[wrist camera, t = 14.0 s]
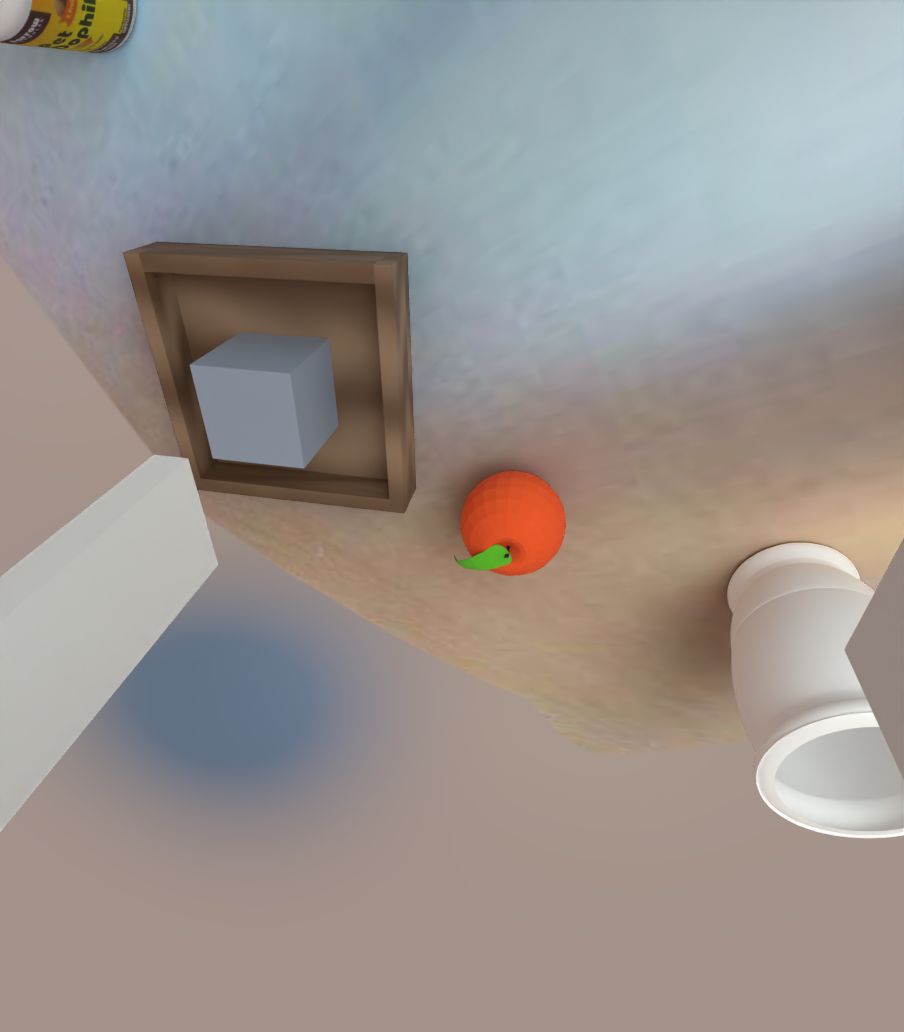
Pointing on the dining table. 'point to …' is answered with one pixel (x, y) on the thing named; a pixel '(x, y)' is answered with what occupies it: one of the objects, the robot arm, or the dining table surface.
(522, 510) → the clementine
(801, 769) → the jar
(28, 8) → the supplement bottle
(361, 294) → the walnut tray
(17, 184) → the dining table surface
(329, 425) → the grey cube
